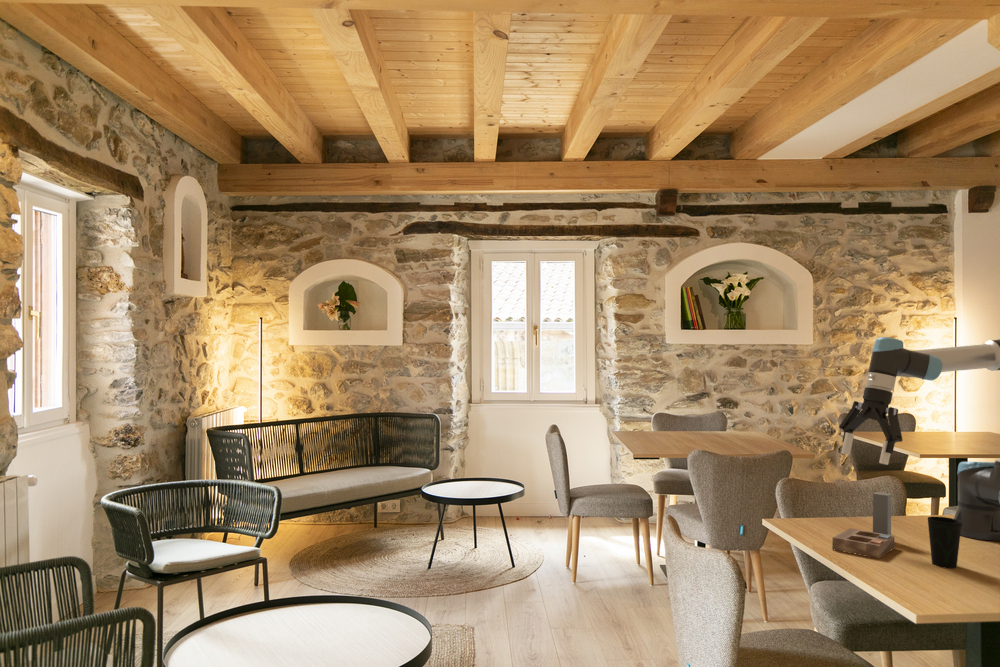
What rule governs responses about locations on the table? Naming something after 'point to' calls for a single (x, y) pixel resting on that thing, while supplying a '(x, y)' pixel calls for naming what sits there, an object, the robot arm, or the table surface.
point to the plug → (882, 513)
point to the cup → (944, 541)
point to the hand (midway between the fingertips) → (863, 458)
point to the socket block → (863, 542)
